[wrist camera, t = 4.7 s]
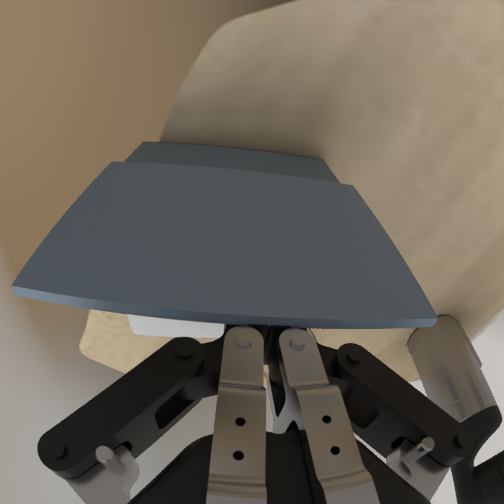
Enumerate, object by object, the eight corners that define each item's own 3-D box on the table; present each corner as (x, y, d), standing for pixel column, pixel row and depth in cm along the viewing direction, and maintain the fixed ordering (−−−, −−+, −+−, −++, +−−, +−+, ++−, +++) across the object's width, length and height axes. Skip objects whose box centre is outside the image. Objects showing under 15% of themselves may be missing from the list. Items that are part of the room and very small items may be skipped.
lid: (350, 192, 21) (352, 185, 20) (431, 327, 11) (438, 318, 11) (112, 169, 19) (112, 161, 19) (16, 296, 9) (11, 285, 9)
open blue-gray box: (323, 159, 27) (346, 192, 21) (296, 265, 33) (307, 312, 28) (143, 141, 25) (116, 170, 19) (146, 252, 32) (130, 298, 26)
